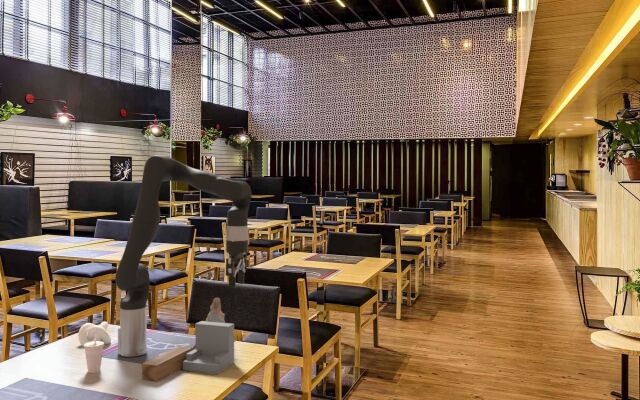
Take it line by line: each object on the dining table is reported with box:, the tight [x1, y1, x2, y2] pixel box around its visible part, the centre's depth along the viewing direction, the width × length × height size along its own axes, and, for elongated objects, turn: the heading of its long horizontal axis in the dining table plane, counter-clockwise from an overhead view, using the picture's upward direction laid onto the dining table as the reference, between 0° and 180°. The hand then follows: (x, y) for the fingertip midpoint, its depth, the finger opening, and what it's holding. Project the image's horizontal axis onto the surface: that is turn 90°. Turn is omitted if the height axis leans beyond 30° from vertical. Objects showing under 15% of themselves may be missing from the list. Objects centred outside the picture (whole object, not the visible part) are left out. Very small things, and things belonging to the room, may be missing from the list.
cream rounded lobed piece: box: [77, 321, 112, 347], centre depth 199 cm, size 11×12×9 cm
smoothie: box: [83, 330, 105, 374], centre depth 170 cm, size 6×6×14 cm
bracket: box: [182, 320, 235, 375], centre depth 176 cm, size 13×12×14 cm
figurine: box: [207, 297, 226, 323], centre depth 202 cm, size 9×8×20 cm
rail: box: [141, 345, 193, 383], centre depth 172 cm, size 6×20×6 cm, turn 160°
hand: (236, 285), depth 174 cm, fingers open, 8 cm apart
